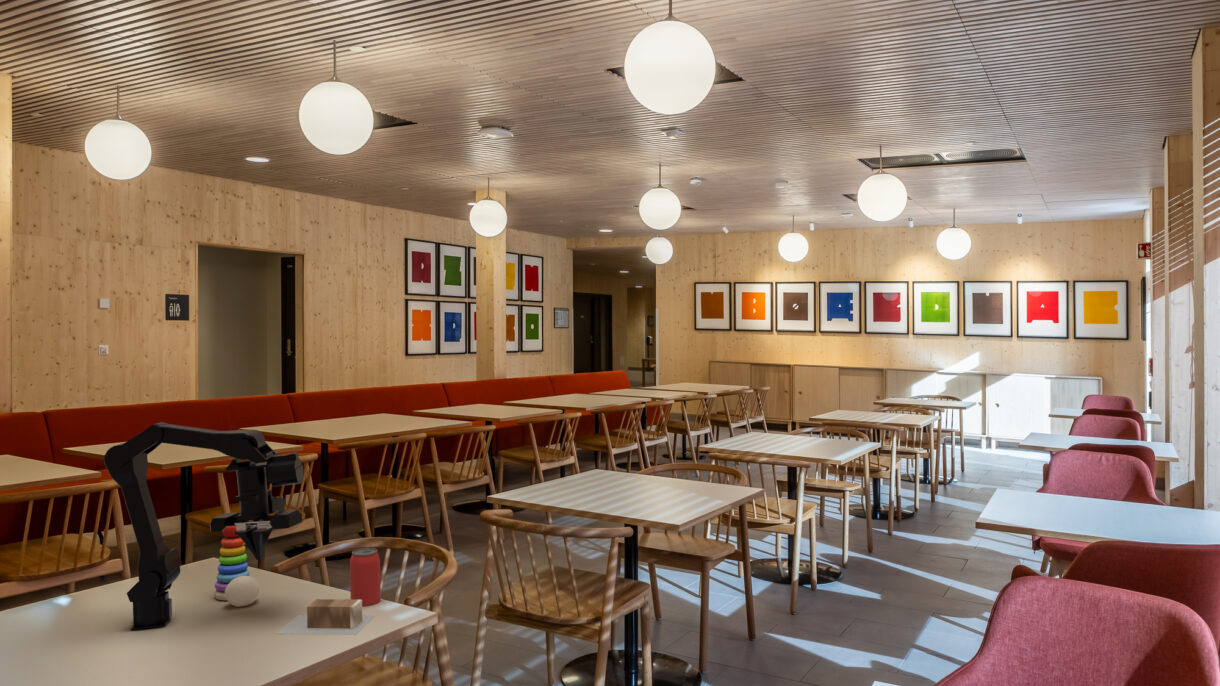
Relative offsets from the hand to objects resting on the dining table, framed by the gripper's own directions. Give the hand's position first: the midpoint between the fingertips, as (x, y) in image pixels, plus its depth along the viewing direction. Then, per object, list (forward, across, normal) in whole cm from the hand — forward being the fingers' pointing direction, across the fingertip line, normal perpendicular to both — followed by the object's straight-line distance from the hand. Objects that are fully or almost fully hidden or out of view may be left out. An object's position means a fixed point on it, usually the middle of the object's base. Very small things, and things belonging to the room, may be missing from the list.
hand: (260, 559), depth 175 cm
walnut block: (+11, -13, +3) cm, 17 cm away
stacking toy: (+12, +17, -12) cm, 24 cm away
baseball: (+12, +10, -7) cm, 17 cm away
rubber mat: (+14, -16, +3) cm, 21 cm away
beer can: (+14, -17, -12) cm, 25 cm away
